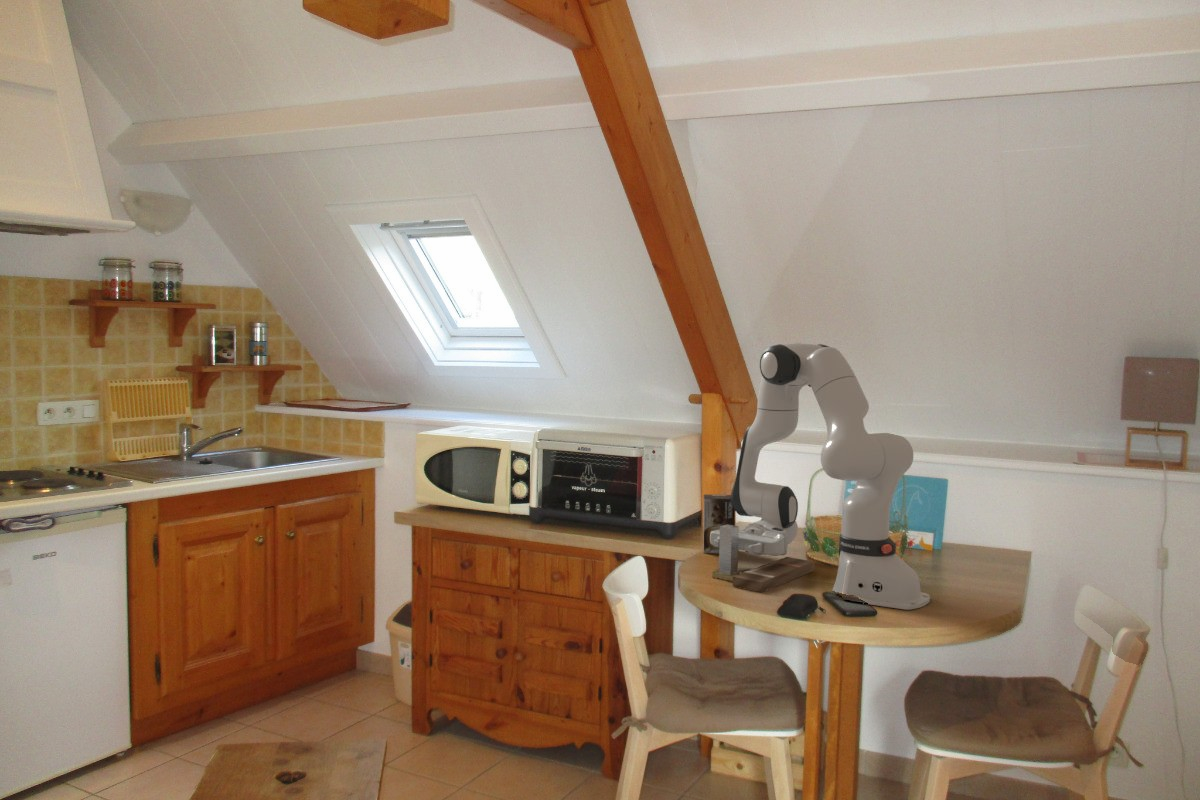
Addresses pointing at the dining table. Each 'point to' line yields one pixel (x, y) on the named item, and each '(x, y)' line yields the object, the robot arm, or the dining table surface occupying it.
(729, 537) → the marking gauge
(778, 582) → the walnut board
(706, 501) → the coffee box
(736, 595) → the dining table surface
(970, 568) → the dining table surface
